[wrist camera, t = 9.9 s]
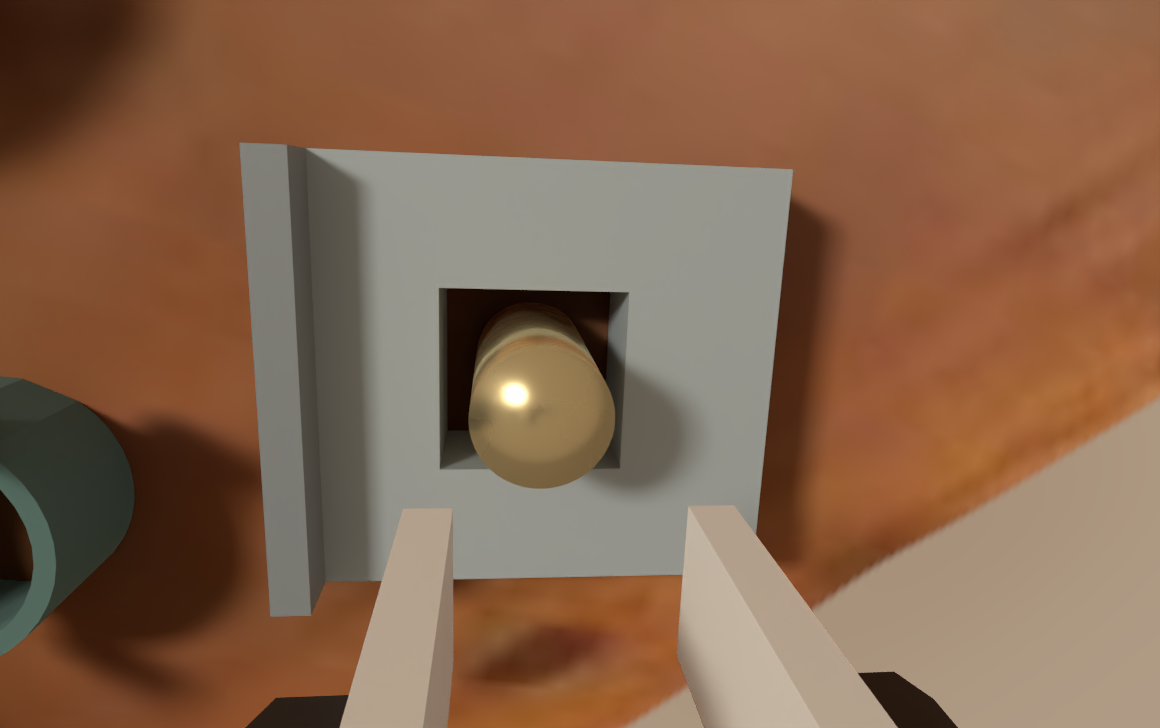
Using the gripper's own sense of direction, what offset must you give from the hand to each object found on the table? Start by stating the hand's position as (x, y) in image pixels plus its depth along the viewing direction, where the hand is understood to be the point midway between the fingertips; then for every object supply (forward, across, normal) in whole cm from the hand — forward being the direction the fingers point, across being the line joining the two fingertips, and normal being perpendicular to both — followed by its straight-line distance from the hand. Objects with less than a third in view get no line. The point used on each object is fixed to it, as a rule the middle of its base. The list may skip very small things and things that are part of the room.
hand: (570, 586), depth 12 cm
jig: (+17, 0, 0) cm, 17 cm away
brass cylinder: (+17, 0, 0) cm, 17 cm away
